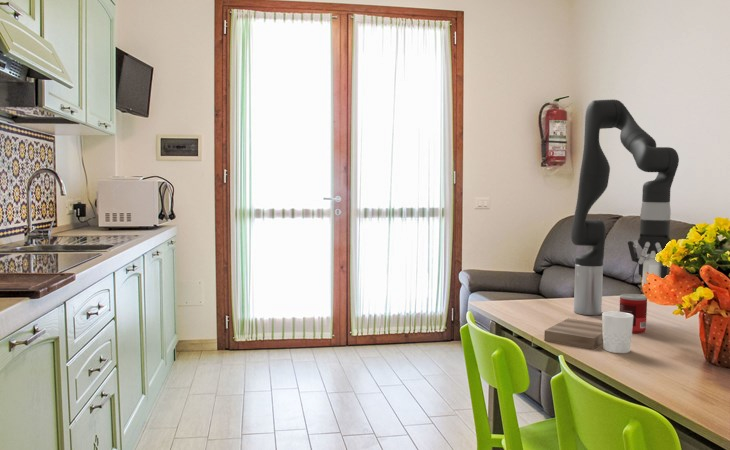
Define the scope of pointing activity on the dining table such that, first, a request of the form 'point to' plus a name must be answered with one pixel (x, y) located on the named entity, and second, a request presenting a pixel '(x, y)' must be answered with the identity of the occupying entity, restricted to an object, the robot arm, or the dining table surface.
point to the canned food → (635, 310)
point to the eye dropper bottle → (651, 267)
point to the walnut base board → (576, 333)
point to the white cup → (617, 331)
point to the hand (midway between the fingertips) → (652, 277)
